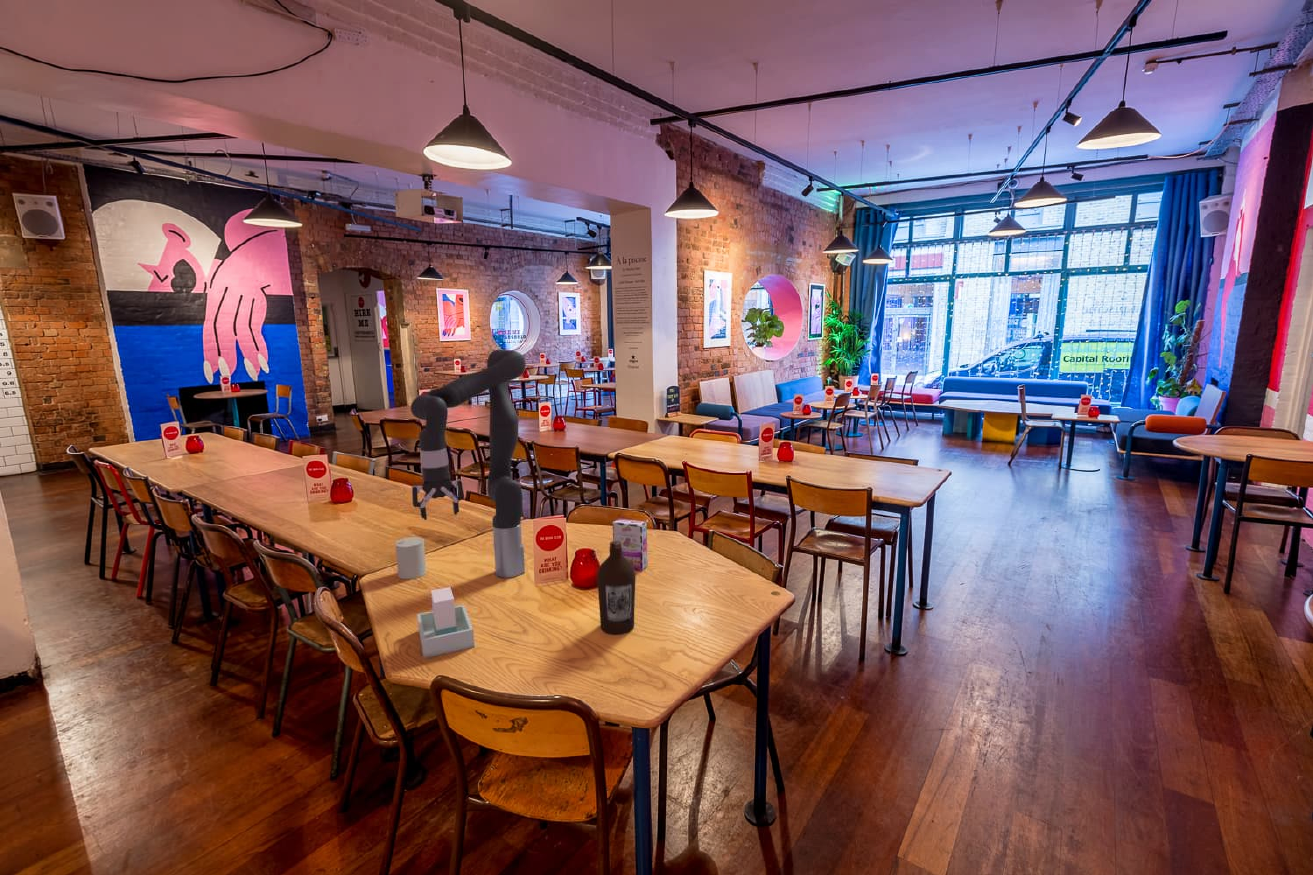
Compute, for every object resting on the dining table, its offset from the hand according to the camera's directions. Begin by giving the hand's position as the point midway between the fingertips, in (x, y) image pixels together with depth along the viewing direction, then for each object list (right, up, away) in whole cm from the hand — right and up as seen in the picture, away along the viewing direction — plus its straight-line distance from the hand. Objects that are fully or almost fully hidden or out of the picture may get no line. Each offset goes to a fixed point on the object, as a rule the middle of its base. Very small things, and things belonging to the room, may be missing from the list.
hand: (440, 516), depth 178 cm
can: (-19, -23, +26) cm, 40 cm away
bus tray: (+7, -31, -16) cm, 36 cm away
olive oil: (+53, -30, -10) cm, 62 cm away
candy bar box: (+55, -22, +31) cm, 67 cm away
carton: (+7, -30, -16) cm, 35 cm away
